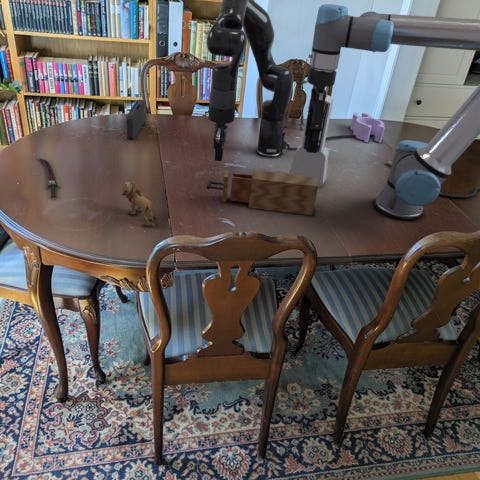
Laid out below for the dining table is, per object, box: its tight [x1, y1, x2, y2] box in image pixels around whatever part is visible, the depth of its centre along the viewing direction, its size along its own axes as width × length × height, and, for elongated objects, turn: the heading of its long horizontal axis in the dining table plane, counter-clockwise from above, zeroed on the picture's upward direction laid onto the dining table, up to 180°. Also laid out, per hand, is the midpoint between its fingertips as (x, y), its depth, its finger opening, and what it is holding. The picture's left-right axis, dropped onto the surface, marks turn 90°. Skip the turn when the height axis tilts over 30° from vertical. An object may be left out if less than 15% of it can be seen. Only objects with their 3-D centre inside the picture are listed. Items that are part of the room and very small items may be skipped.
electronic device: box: [288, 94, 335, 188], centre depth 159 cm, size 12×8×30 cm, turn 71°
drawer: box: [205, 169, 252, 204], centre depth 147 cm, size 24×5×8 cm, turn 85°
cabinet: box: [248, 169, 319, 216], centre depth 146 cm, size 20×6×10 cm, turn 85°
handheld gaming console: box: [126, 98, 146, 140], centre depth 191 cm, size 23×3×10 cm, turn 178°
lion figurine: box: [119, 181, 159, 227], centre depth 134 cm, size 15×5×9 cm, turn 50°
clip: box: [349, 112, 386, 143], centre depth 214 cm, size 20×12×7 cm, turn 11°
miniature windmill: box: [284, 58, 308, 130], centre depth 209 cm, size 9×8×30 cm
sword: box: [40, 158, 59, 198], centre depth 151 cm, size 31×3×1 cm, turn 26°
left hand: (218, 160), depth 142 cm, fingers closed
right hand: (310, 143), depth 137 cm, fingers open, 13 cm apart
